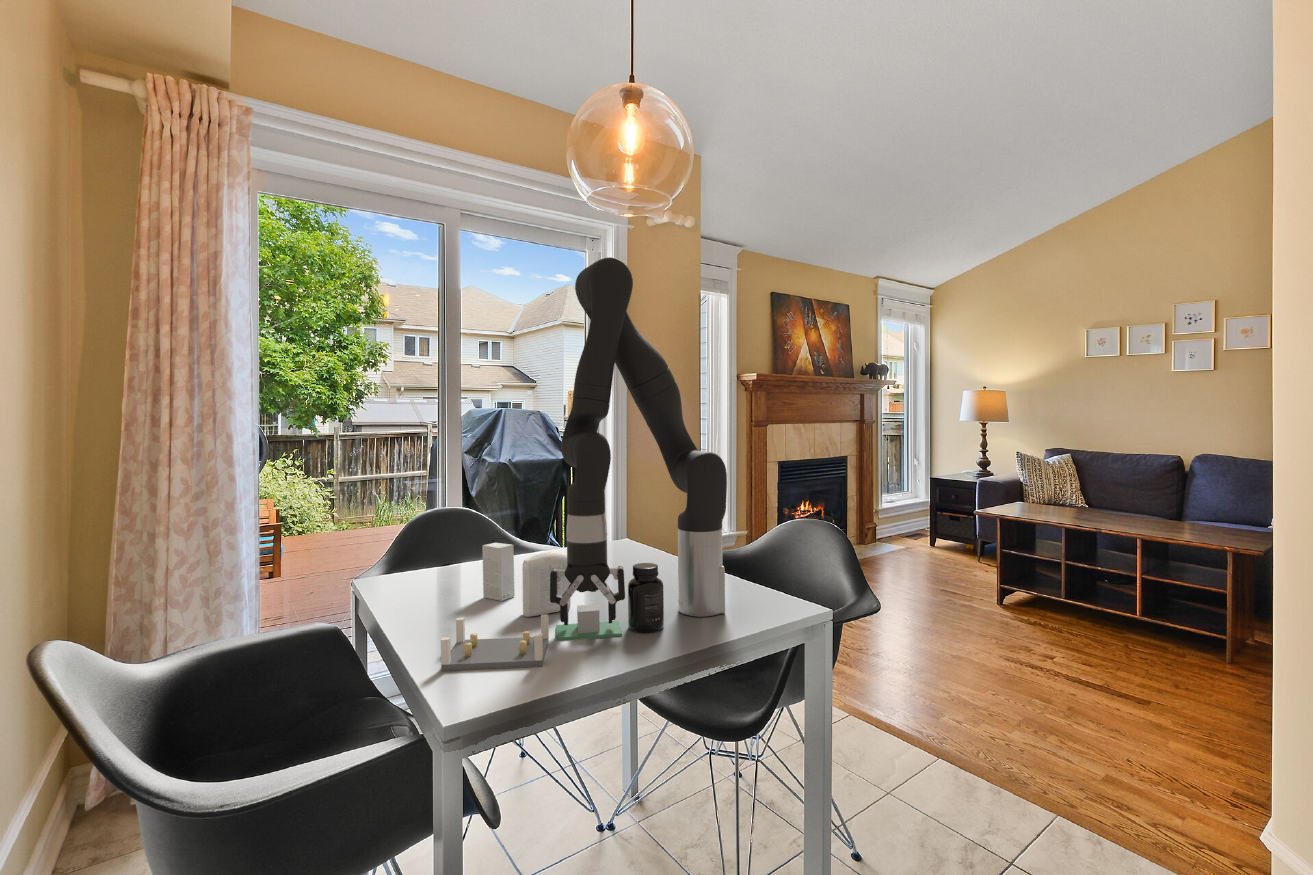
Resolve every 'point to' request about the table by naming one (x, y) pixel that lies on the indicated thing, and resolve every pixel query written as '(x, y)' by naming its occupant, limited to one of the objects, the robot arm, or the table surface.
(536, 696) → the table surface
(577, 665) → the table surface
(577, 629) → the module board
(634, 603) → the supplement bottle
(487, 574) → the skincare box
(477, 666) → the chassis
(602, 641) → the table surface
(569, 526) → the robot arm
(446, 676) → the table surface
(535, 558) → the white rounded block
